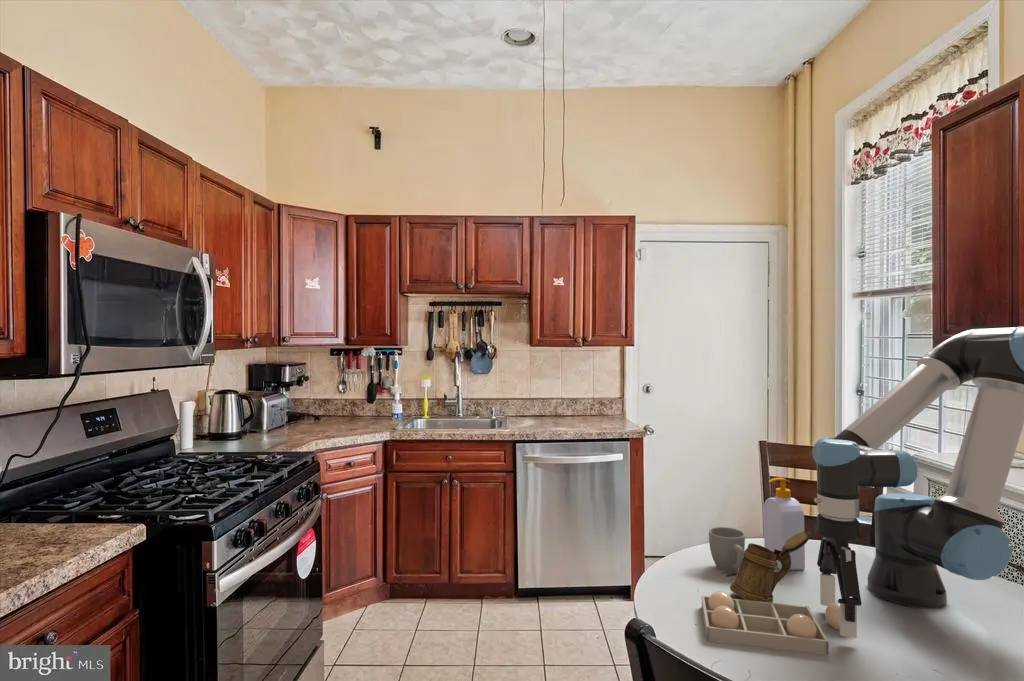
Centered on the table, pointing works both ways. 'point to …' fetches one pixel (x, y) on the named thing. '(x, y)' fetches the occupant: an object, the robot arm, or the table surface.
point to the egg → (833, 615)
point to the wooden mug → (764, 569)
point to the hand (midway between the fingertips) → (837, 620)
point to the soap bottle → (783, 523)
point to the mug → (727, 548)
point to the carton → (765, 627)
